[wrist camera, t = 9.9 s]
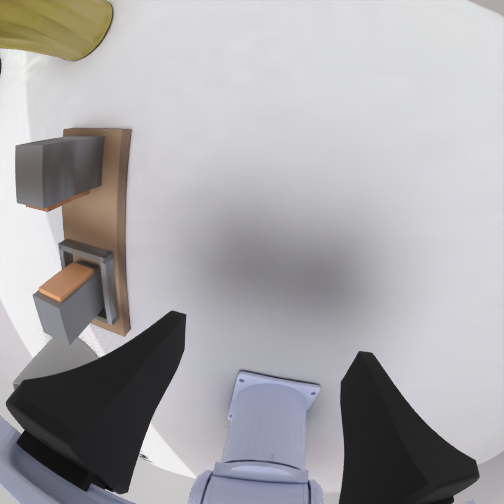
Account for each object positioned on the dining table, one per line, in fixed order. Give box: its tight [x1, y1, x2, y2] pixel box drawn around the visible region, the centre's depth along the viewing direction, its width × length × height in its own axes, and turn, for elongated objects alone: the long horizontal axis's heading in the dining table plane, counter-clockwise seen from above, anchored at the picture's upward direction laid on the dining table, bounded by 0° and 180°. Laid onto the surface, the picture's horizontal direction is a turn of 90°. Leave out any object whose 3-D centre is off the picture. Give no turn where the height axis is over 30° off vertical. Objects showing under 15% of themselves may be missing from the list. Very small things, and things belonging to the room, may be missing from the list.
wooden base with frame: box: [15, 128, 131, 337], centre depth 18 cm, size 18×6×7 cm, turn 169°
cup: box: [13, 337, 99, 390], centre depth 24 cm, size 8×8×10 cm
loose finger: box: [33, 260, 105, 346], centre depth 18 cm, size 4×3×6 cm
